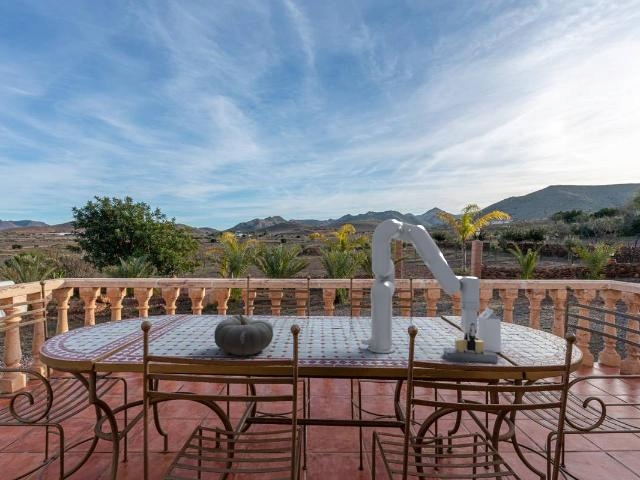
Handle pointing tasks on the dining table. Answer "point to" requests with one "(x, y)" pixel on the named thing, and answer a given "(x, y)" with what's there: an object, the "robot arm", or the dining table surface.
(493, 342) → the milk carton
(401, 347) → the dining table surface
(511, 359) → the dining table surface
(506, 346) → the dining table surface
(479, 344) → the clip
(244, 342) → the gourd
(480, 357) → the grey block with holes
